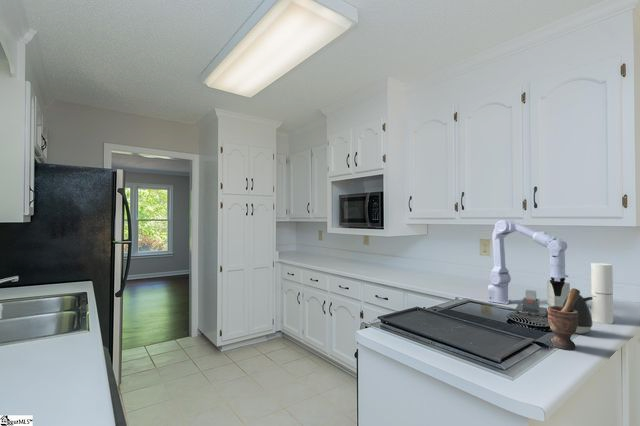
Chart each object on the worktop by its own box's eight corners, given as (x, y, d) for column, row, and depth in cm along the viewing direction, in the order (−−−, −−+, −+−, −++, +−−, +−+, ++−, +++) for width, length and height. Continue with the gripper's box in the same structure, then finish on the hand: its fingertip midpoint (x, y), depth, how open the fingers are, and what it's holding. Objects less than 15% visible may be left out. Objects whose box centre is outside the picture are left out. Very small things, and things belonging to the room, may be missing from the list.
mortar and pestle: (555, 337, 124) (555, 284, 124) (584, 344, 117) (583, 288, 117) (544, 345, 117) (543, 289, 117) (574, 353, 110) (573, 293, 110)
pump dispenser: (596, 338, 123) (595, 297, 123) (562, 333, 128) (561, 294, 129) (590, 329, 132) (589, 292, 132) (558, 325, 137) (557, 289, 137)
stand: (515, 312, 156) (514, 300, 156) (518, 307, 166) (518, 295, 166) (545, 317, 149) (545, 304, 149) (547, 311, 158) (547, 298, 158)
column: (525, 308, 157) (525, 291, 157) (526, 306, 160) (526, 289, 160) (535, 310, 154) (535, 292, 154) (536, 308, 158) (536, 290, 158)
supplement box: (570, 308, 163) (570, 283, 163) (553, 307, 164) (553, 282, 164) (562, 304, 170) (562, 280, 170) (546, 304, 171) (546, 279, 171)
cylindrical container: (608, 324, 138) (607, 265, 138) (588, 320, 144) (587, 263, 145) (616, 322, 141) (615, 264, 142) (596, 317, 148) (595, 262, 148)
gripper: (568, 268, 144) (568, 298, 144) (568, 264, 156) (568, 292, 156) (548, 266, 148) (549, 296, 148) (550, 263, 160) (550, 290, 160)
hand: (557, 294), depth 152 cm, fingers open, 7 cm apart
